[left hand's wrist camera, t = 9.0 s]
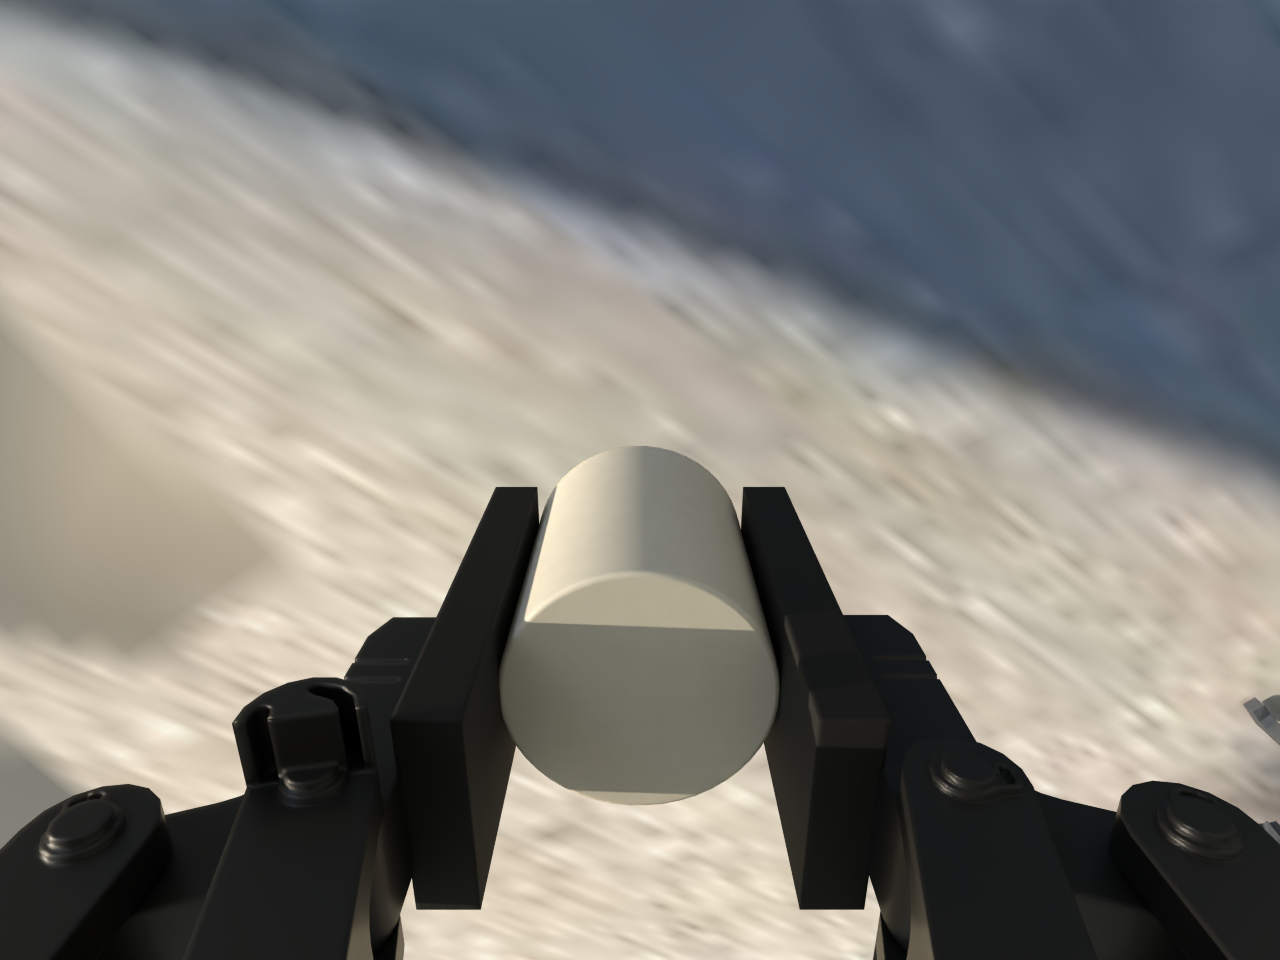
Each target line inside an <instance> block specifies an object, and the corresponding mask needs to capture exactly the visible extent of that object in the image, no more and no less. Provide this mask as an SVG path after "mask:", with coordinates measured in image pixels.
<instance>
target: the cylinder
mask: <svg viewBox="0 0 1280 960" xmlns="http://www.w3.org/2000/svg"><path fill="white" fill-rule="evenodd" d="M499 689H500V701H501V712H502V717H503V719H504V722H505V724H506V727H507V729H508V732H509V734H510V736H511V737H512V739H513V741H514V742H515V744H516V746H517V747H518V749H519V750H520V751H521V752H522V754H523V755H524V756H525V757H526V759H527V760H528V761H529V762H530V763H531V764H533V765H534V766H535V767H536V768H537V769H538V770H539V771H540V772H542V773H543V774H544V775H545V776H547V777H548V778H549V779H551V780H552V781H554V782H556V783H558V784H559V785H561V786H563V787H564V788H566V789H569V790H571V791H573V792H575V793H578V794H580V795H583V796H586V797H589V798H592V799H595V800H600V801H604V802H609V803H615V804H625V805H653V804H663V803H669V802H674V801H679V800H682V799H686V798H689V797H692V796H695V795H698V794H700V793H703V792H705V791H707V790H709V789H712V788H714V787H715V786H717V785H719V784H720V783H722V782H724V781H726V780H727V779H728V778H730V777H731V776H733V775H734V774H735V773H737V772H738V771H739V770H740V769H741V768H742V767H743V766H744V765H745V764H747V763H748V762H749V761H750V760H751V759H752V757H753V756H754V755H755V754H756V752H757V751H758V750H759V749H760V747H761V746H762V744H763V742H764V741H765V739H766V737H767V736H768V734H769V731H770V729H771V727H772V724H773V722H774V719H775V717H776V713H777V709H778V704H779V696H780V676H779V669H778V665H777V660H776V656H775V653H774V649H773V645H772V642H771V638H770V634H769V631H768V627H767V623H766V620H765V616H764V613H763V609H762V605H761V602H760V598H759V594H758V591H757V587H756V583H755V580H754V576H753V572H752V569H751V565H750V562H749V558H748V554H747V551H746V547H745V543H744V540H743V536H742V532H741V529H740V525H739V521H738V518H737V514H736V511H735V508H734V506H733V503H732V501H731V499H730V497H729V495H728V494H727V492H726V490H725V489H724V487H723V486H722V485H721V484H720V482H719V481H718V480H717V479H716V478H715V477H714V476H713V475H712V474H711V473H710V472H709V471H708V470H707V469H705V468H704V467H703V466H701V465H700V464H699V463H697V462H695V461H693V460H692V459H690V458H688V457H686V456H684V455H681V454H679V453H676V452H674V451H670V450H666V449H662V448H656V447H649V446H630V447H622V448H617V449H613V450H609V451H605V452H603V453H600V454H597V455H595V456H593V457H591V458H589V459H587V460H585V461H583V462H582V463H580V464H579V465H577V466H576V467H575V468H573V469H572V470H571V471H570V472H569V473H568V474H567V475H566V476H564V477H563V478H562V479H561V481H560V482H559V483H558V485H557V486H556V487H555V488H554V490H553V492H552V493H551V495H550V497H549V498H548V500H547V503H546V505H545V508H544V510H543V513H542V517H541V520H540V524H539V528H538V531H537V535H536V538H535V542H534V545H533V549H532V552H531V556H530V560H529V563H528V567H527V570H526V574H525V577H524V581H523V584H522V588H521V592H520V595H519V599H518V602H517V606H516V609H515V613H514V616H513V620H512V624H511V627H510V631H509V634H508V638H507V641H506V645H505V648H504V652H503V656H502V660H501V664H500V668H499Z"/></svg>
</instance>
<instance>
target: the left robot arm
mask: <svg viewBox="0 0 1280 960" xmlns="http://www.w3.org/2000/svg"><path fill="white" fill-rule="evenodd" d="M538 528H539V510H538V491H537V487H496V488H495V490H494V492H493V495H492V497H491V499H490V501H489V503H488V506H487V508H486V510H485V512H484V514H483V517H482V519H481V521H480V523H479V525H478V527H477V530H476V532H475V534H474V536H473V538H472V541H471V543H470V545H469V547H468V549H467V552H466V554H465V556H464V558H463V560H462V563H461V565H460V567H459V569H458V571H457V573H456V576H455V578H454V580H453V582H452V584H451V587H450V589H449V591H448V593H447V595H446V598H445V600H444V602H443V604H442V606H441V609H440V611H439V613H438V615H437V617H393V618H392V619H390V620H389V621H388V622H386V623H385V624H384V625H382V626H381V627H380V628H378V629H377V630H376V631H375V632H373V633H372V634H371V635H369V636H368V637H367V639H366V641H365V642H364V644H363V646H362V648H361V649H360V651H359V653H358V654H357V656H356V658H355V663H352V665H351V666H350V668H349V670H348V671H347V673H346V675H345V677H344V680H343V679H340V678H318V677H313V678H308V679H304V680H299V681H294V682H289V683H286V684H284V685H282V686H279V687H277V688H275V689H272V690H270V691H268V692H265V693H263V694H262V695H260V696H259V697H258V698H256V699H255V700H253V701H252V702H251V703H249V704H248V705H246V706H245V707H244V708H243V709H242V711H241V712H240V713H239V715H238V716H237V717H236V719H235V720H234V721H233V723H232V726H233V730H234V734H235V738H236V743H237V747H238V751H239V756H240V760H241V764H242V769H243V773H244V777H245V781H246V786H247V789H246V791H245V794H244V795H242V796H239V797H236V798H233V799H229V800H226V801H223V802H220V803H215V804H211V805H207V806H202V807H198V808H194V809H189V810H185V811H181V812H176V813H172V814H168V815H164V811H163V808H162V804H161V801H160V799H159V798H158V797H157V796H156V795H155V794H154V793H153V792H152V791H151V790H150V789H149V788H145V787H140V786H136V785H131V784H123V785H113V786H103V787H99V788H96V789H93V790H90V791H87V792H84V793H80V794H77V795H74V796H72V797H70V798H68V799H66V800H64V801H62V802H60V803H58V804H57V805H55V806H53V807H51V808H49V809H47V810H45V811H44V812H42V813H41V814H40V815H38V816H37V817H36V818H35V819H33V820H32V821H31V822H30V823H28V824H27V825H26V826H25V827H23V828H22V829H21V830H20V831H19V832H18V833H17V834H16V835H15V836H14V837H13V838H12V839H11V840H10V841H9V842H8V843H6V845H5V846H4V847H2V848H1V849H0V960H403V955H404V938H403V931H402V924H401V918H400V912H401V909H402V906H403V903H404V900H405V897H406V894H407V891H408V888H409V885H410V881H411V878H412V882H413V889H414V896H415V903H416V910H481V906H482V901H483V896H484V892H485V887H486V882H487V878H488V873H489V869H490V864H491V859H492V855H493V850H494V845H495V841H496V836H497V831H498V827H499V822H500V818H501V813H502V808H503V804H504V799H505V794H506V790H507V785H508V780H509V776H510V771H511V767H512V762H513V757H514V753H515V748H516V744H515V742H514V741H513V739H512V737H511V736H510V734H509V732H508V729H507V727H506V724H505V722H504V719H503V717H502V712H501V701H500V689H499V668H500V664H501V660H502V656H503V652H504V648H505V645H506V641H507V638H508V634H509V631H510V627H511V624H512V620H513V616H514V613H515V609H516V606H517V602H518V599H519V595H520V592H521V588H522V584H523V581H524V577H525V574H526V570H527V567H528V563H529V560H530V556H531V552H532V549H533V545H534V542H535V538H536V535H537V531H538ZM741 532H742V536H743V540H744V543H745V547H746V551H747V554H748V558H749V562H750V565H751V569H752V572H753V576H754V580H755V583H756V587H757V591H758V594H759V598H760V602H761V605H762V609H763V613H764V616H765V620H766V623H767V627H768V631H769V634H770V638H771V642H772V645H773V649H774V653H775V656H776V660H777V665H778V669H779V676H780V696H779V704H778V709H777V713H776V717H775V719H774V722H773V724H772V727H771V729H770V731H769V734H768V736H767V737H766V739H765V741H764V746H765V750H766V755H767V760H768V764H769V769H770V774H771V778H772V783H773V787H774V792H775V797H776V801H777V806H778V811H779V815H780V820H781V824H782V829H783V834H784V838H785V843H786V848H787V852H788V857H789V862H790V866H791V871H792V875H793V880H794V885H795V889H796V894H797V899H798V903H799V908H800V910H864V906H865V899H866V892H867V885H868V879H869V876H870V879H871V882H872V885H873V888H874V891H875V894H876V898H877V901H878V904H879V907H880V910H881V911H880V918H879V924H878V931H877V937H876V944H875V950H874V957H873V960H1280V844H1279V843H1278V842H1277V841H1276V840H1275V839H1274V838H1273V837H1272V836H1271V835H1270V834H1269V833H1268V832H1267V831H1266V830H1265V829H1264V828H1263V827H1262V826H1260V825H1259V824H1258V823H1257V822H1255V821H1254V820H1253V819H1251V818H1250V817H1249V816H1248V815H1246V814H1245V813H1244V812H1243V811H1241V810H1240V809H1239V808H1237V807H1235V806H1234V805H1232V804H1230V803H1228V802H1226V801H1224V800H1222V799H1220V798H1218V797H1216V796H1214V795H1212V794H1210V793H1208V792H1205V791H1202V790H1199V789H1196V788H1192V787H1189V786H1186V785H1183V784H1180V783H1171V782H1160V781H1150V782H1145V783H1140V784H1135V785H1132V786H1131V787H1130V788H1129V789H1128V790H1127V791H1126V792H1125V793H1124V794H1123V795H1122V796H1121V799H1120V803H1119V806H1118V810H1117V812H1114V811H1110V810H1105V809H1101V808H1097V807H1092V806H1088V805H1084V804H1079V803H1075V802H1070V801H1066V800H1062V799H1059V798H1055V797H1052V796H1049V795H1045V794H1042V793H1040V792H1037V791H1035V790H1034V787H1033V785H1032V784H1031V782H1030V781H1029V779H1028V778H1027V776H1026V775H1025V773H1024V771H1023V770H1022V769H1021V768H1020V767H1019V766H1017V765H1016V764H1015V763H1014V762H1013V761H1011V760H1010V759H1009V758H1008V757H1006V756H1005V755H1004V754H1002V753H1000V752H998V751H996V750H994V749H992V748H990V747H988V746H985V745H983V744H981V743H978V742H976V740H975V738H974V737H973V735H972V733H971V732H970V730H969V728H968V727H967V725H966V723H965V722H964V720H963V718H962V716H961V715H960V713H959V711H958V710H957V708H956V706H955V705H954V703H953V701H952V699H951V698H950V696H949V694H948V693H947V691H946V689H945V688H944V686H943V684H942V682H941V681H940V679H937V674H936V672H935V671H934V669H933V667H932V666H931V664H930V662H929V661H926V655H925V654H924V652H923V650H922V649H921V647H920V645H919V643H918V642H917V640H916V638H915V637H914V635H913V634H912V633H911V632H910V631H908V630H907V629H906V628H904V627H903V626H902V625H900V624H899V623H898V622H896V621H895V620H894V619H892V618H891V617H890V616H888V615H843V614H842V612H841V610H840V607H839V605H838V603H837V601H836V599H835V596H834V594H833V592H832V590H831V588H830V585H829V583H828V581H827V579H826V577H825V574H824V572H823V570H822V568H821V566H820V564H819V561H818V559H817V557H816V555H815V553H814V550H813V548H812V546H811V544H810V542H809V539H808V537H807V535H806V533H805V531H804V529H803V526H802V524H801V522H800V520H799V518H798V515H797V513H796V511H795V509H794V507H793V504H792V502H791V500H790V498H789V496H788V493H787V491H786V489H785V487H743V501H742V520H741Z"/></svg>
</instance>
